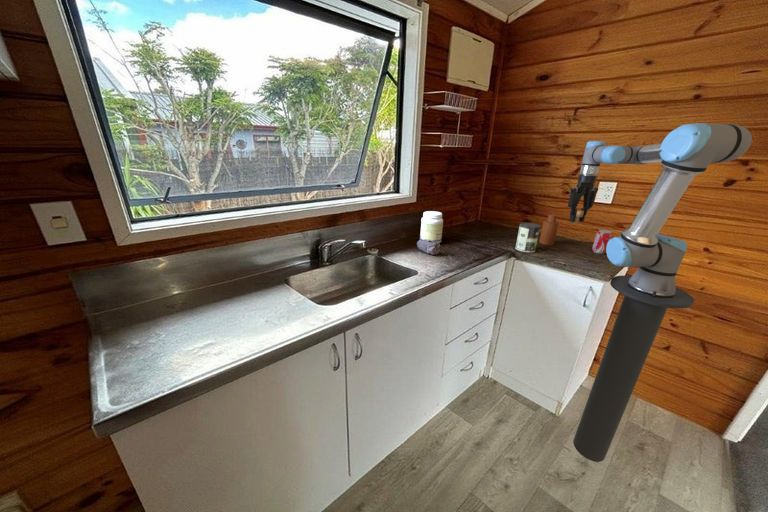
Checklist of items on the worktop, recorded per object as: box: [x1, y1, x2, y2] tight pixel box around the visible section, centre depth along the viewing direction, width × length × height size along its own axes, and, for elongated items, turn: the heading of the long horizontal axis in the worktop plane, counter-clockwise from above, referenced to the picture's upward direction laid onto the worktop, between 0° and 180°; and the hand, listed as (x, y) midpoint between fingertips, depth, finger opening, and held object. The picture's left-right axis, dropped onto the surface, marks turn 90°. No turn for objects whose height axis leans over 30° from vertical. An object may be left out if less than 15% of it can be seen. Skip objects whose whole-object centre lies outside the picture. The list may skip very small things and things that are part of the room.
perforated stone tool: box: [416, 239, 441, 256], centre depth 157 cm, size 15×5×7 cm, turn 36°
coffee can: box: [514, 221, 542, 254], centre depth 164 cm, size 10×10×14 cm
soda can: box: [591, 229, 613, 255], centre depth 163 cm, size 7×7×12 cm
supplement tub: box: [419, 210, 444, 244], centre depth 172 cm, size 12×12×17 cm
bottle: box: [538, 213, 560, 246], centre depth 176 cm, size 8×8×17 cm
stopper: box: [572, 208, 584, 225], centre depth 155 cm, size 5×5×7 cm
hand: (576, 221), depth 156 cm, fingers closed on stopper, 5 cm apart
